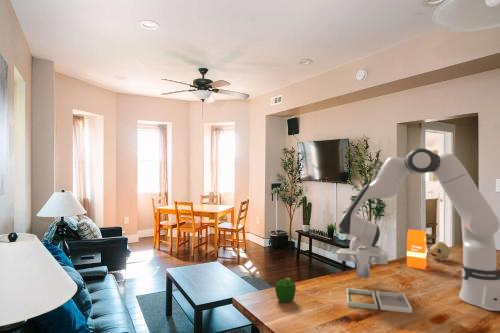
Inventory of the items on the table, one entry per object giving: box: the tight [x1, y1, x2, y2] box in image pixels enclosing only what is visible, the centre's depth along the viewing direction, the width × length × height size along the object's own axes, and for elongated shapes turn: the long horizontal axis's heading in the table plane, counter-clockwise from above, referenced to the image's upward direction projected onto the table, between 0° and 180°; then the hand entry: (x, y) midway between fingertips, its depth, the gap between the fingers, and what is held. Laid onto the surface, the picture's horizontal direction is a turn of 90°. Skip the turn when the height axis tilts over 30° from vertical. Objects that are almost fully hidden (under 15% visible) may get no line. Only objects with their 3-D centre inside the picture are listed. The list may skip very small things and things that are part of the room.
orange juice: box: [406, 228, 428, 270], centre depth 173 cm, size 8×9×20 cm
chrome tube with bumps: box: [356, 246, 371, 279], centre depth 127 cm, size 5×5×12 cm
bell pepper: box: [274, 277, 297, 303], centre depth 130 cm, size 8×8×10 cm
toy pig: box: [426, 241, 451, 262], centre depth 183 cm, size 10×12×11 cm
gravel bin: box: [375, 290, 413, 314], centre depth 124 cm, size 11×14×3 cm
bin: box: [346, 287, 379, 310], centre depth 127 cm, size 11×14×3 cm
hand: (363, 261), depth 126 cm, fingers closed on chrome tube with bumps, 5 cm apart
